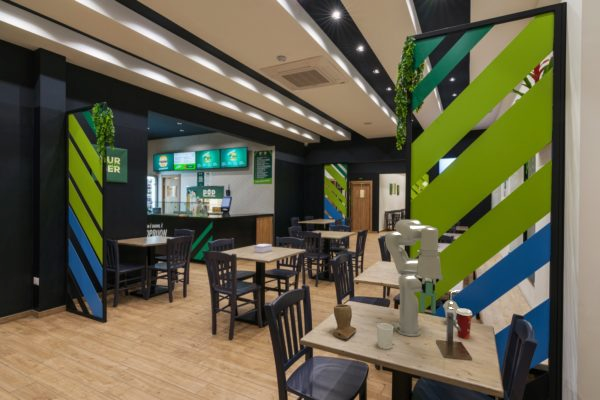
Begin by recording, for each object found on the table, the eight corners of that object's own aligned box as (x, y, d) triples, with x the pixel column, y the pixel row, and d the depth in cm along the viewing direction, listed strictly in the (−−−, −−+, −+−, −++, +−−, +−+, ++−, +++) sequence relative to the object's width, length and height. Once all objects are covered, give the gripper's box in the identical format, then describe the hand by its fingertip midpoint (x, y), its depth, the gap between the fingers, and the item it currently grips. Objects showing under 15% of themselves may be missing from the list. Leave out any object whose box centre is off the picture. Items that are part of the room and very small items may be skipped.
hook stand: (444, 358, 148) (445, 324, 148) (435, 342, 165) (436, 310, 165) (472, 361, 146) (473, 326, 146) (461, 344, 163) (462, 312, 162)
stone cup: (339, 326, 183) (339, 300, 183) (358, 331, 177) (359, 304, 176) (326, 336, 170) (327, 307, 170) (347, 342, 164) (347, 312, 164)
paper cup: (473, 340, 167) (474, 313, 167) (457, 338, 169) (458, 312, 169) (469, 334, 175) (469, 308, 175) (453, 332, 176) (454, 307, 176)
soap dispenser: (443, 320, 194) (443, 287, 193) (459, 323, 190) (460, 289, 189) (442, 325, 186) (443, 290, 186) (459, 328, 182) (460, 293, 182)
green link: (422, 312, 152) (422, 282, 152) (420, 309, 156) (420, 280, 156) (435, 313, 151) (436, 283, 151) (433, 310, 155) (434, 281, 155)
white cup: (383, 351, 155) (383, 330, 154) (373, 344, 162) (373, 324, 162) (396, 348, 158) (397, 328, 158) (386, 341, 165) (386, 322, 165)
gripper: (412, 254, 151) (411, 293, 151) (449, 255, 148) (448, 295, 149) (409, 251, 158) (408, 288, 159) (445, 252, 156) (444, 290, 156)
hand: (428, 291), depth 154 cm, fingers closed on green link, 3 cm apart
